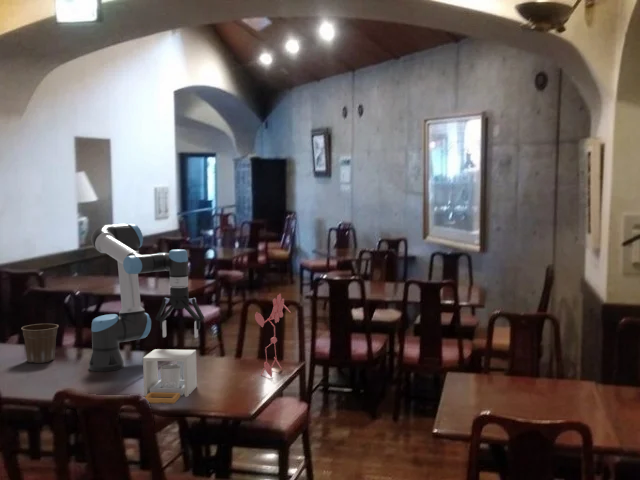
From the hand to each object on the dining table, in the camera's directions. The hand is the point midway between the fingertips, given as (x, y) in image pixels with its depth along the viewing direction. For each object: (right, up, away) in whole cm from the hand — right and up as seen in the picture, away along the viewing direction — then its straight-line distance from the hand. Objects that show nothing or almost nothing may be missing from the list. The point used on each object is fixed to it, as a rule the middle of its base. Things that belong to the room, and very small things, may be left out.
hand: (180, 336), depth 297 cm
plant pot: (-73, -16, +38) cm, 84 cm away
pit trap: (-2, -21, -25) cm, 33 cm away
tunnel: (-1, -20, -13) cm, 24 cm away
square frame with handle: (-1, -19, -8) cm, 21 cm away
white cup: (-1, -20, -13) cm, 24 cm away
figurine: (+41, -18, +11) cm, 46 cm away
